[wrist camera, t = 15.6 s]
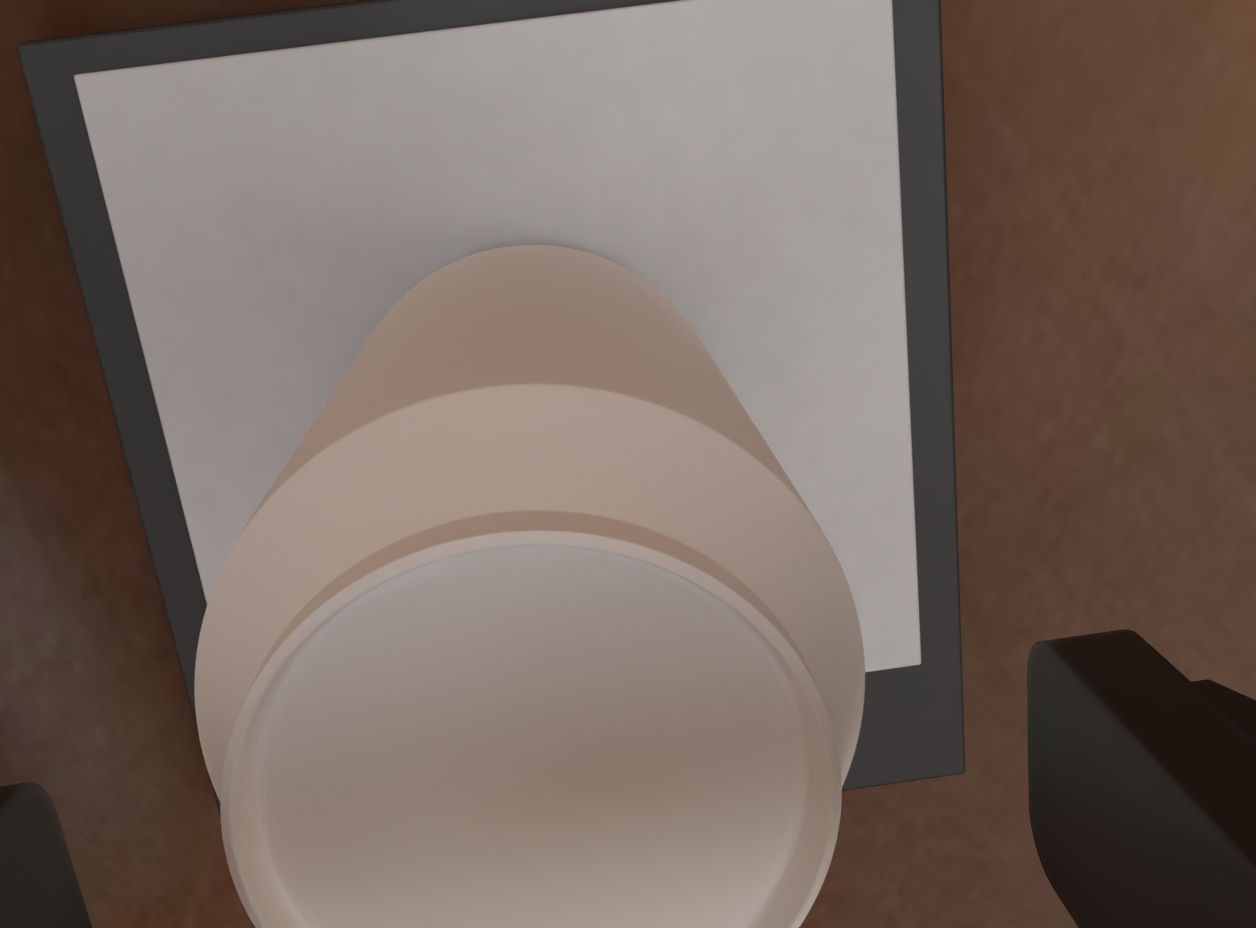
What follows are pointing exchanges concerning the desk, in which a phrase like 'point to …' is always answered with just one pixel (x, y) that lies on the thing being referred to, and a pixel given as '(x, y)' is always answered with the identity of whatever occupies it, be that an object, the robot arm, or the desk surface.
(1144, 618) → the desk surface
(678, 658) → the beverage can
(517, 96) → the scale
